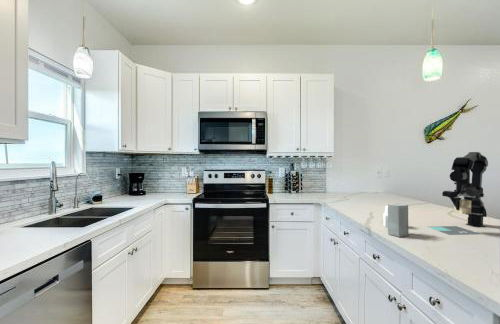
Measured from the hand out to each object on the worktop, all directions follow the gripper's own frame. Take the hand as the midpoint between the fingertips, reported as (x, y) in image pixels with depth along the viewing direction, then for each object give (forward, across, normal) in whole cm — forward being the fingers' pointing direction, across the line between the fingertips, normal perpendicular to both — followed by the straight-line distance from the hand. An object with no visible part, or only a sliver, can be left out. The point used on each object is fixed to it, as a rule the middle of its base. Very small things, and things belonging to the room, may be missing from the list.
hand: (462, 210), depth 143 cm
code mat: (+12, -2, +4) cm, 13 cm away
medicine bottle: (+12, -31, +14) cm, 36 cm away
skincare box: (+12, -37, -2) cm, 39 cm away
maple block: (+2, 0, 0) cm, 2 cm away
